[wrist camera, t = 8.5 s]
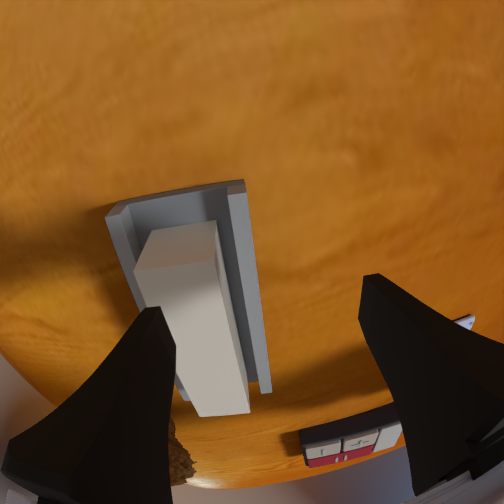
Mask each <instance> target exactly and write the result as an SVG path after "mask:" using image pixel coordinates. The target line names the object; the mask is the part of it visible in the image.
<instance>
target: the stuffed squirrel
mask: <svg viewBox="0 0 504 504" xmlns="http://www.w3.org/2000/svg"><path fill="white" fill-rule="evenodd" d="M174 437H175V425H174V422H173V420H172V418H171V417H170V418H169V429H168V452H169V472H170V483H171V486H175V485H181V484H184V483H187V481H186V478H191V477H192V476H193V475H194V473H195V472H196V470H194V468H192V464H194V463H197V462H194V461H192V459H190V454H189V453H188V451H187V450H185V449H184V448H183V446H182V445H181V443H179V441H178V440H177V438H174Z"/></svg>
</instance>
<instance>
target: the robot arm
mask: <svg viewBox="0 0 504 504" xmlns="http://www.w3.org/2000/svg"><path fill="white" fill-rule="evenodd" d="M358 320H359V322H360V325H361V328H362V331H363V334H364V337H365V340H366V342H367V344H368V346H369V348H370V350H371V352H372V354H373V356H374V358H375V360H376V362H377V365H378V367H379V369H380V371H381V373H382V375H383V377H384V379H385V381H386V383H387V385H388V387H389V390H390V392H391V394H392V397H393V400H394V403H395V406H396V409H397V413H398V416H399V419H400V423H401V427H402V430H403V434H404V438H405V443H406V447H407V452H408V457H409V463H410V470H411V477H412V487H413V491H414V494H415V496H416V497H415V498H413V499H411V500H408V501H406V502H403V503H401V504H504V344H502V343H500V342H497V341H494V340H492V339H489V338H487V337H484V336H482V335H480V334H477V333H475V332H473V331H471V330H470V329H471V327H472V325H473V322H474V320H475V316H474V315H471V316H468V317H465V318H463V319H460V320H457V321H454V322H453V321H452V320H450V319H448V318H446V317H445V316H443V315H441V314H440V313H438V312H436V311H435V310H433V309H432V308H430V307H428V306H427V305H425V304H424V303H422V302H421V301H419V300H418V299H416V298H415V297H413V296H412V295H411V294H409V293H408V292H406V291H405V290H403V289H402V288H400V287H399V286H397V285H396V284H395V283H393V282H392V281H390V280H389V279H387V278H386V277H384V276H382V275H381V274H379V273H377V274H371V275H366V276H363V285H362V293H361V301H360V308H359V315H358ZM175 373H176V344H175V341H174V339H173V336H172V334H171V332H170V329H169V327H168V324H167V322H166V319H165V317H164V314H163V312H162V309H161V307H160V306H155V307H146V308H144V309H143V310H142V311H141V313H140V314H139V315H138V317H137V318H136V319H135V321H134V322H133V323H132V325H131V326H130V327H129V329H128V330H127V331H126V333H125V334H124V335H123V337H122V338H121V339H120V341H119V342H118V343H117V345H116V346H115V347H114V349H113V350H112V351H111V352H110V354H109V355H108V356H107V357H106V358H105V360H104V361H103V362H102V363H101V365H100V366H99V367H98V368H97V369H96V371H95V372H94V373H93V374H92V375H91V376H90V377H89V378H88V379H87V380H86V381H85V382H84V383H83V385H82V386H81V387H80V388H79V389H78V390H77V391H76V392H75V393H73V394H72V395H71V396H70V397H69V398H68V399H67V400H66V401H64V402H63V403H62V404H61V405H60V406H59V407H58V408H57V409H55V410H54V411H53V412H52V413H50V414H49V415H48V416H46V417H45V418H44V419H42V420H41V421H39V422H38V423H37V424H35V425H34V426H32V427H31V428H29V429H28V430H26V431H24V432H22V433H21V434H19V435H17V436H16V437H14V438H13V439H10V440H9V443H8V446H7V450H6V453H5V457H4V460H3V464H2V468H1V472H2V474H3V475H4V476H6V477H7V478H8V479H10V480H12V481H13V482H15V483H16V484H18V485H20V486H22V487H23V488H25V489H27V490H28V491H31V492H32V493H34V494H36V495H38V496H39V497H38V502H36V501H34V500H32V499H30V498H28V497H26V496H23V495H21V494H19V493H17V492H15V491H13V490H11V489H9V490H8V494H7V498H6V504H173V500H172V493H171V483H170V472H169V452H168V429H169V418H170V410H171V402H172V395H173V388H174V381H175ZM446 482H447V483H446ZM444 483H445V484H444ZM442 484H443V485H442ZM440 485H441V486H440ZM438 486H439V487H438ZM436 487H437V488H436ZM434 488H435V489H434ZM432 489H433V490H432ZM430 490H431V491H430ZM428 491H429V492H428ZM421 494H422V495H421ZM419 495H420V496H419ZM417 496H418V497H417Z"/></svg>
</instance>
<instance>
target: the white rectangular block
mask: <svg viewBox="0 0 504 504" xmlns="http://www.w3.org/2000/svg"><path fill="white" fill-rule="evenodd" d="M133 272H134V275H135V278H136V280H137V283H138V286H139V288H140V291H141V293H142V296H143V298H144V301H145V303H146V306H147V307H155V306H160V307H161V309H162V312H163V314H164V317H165V319H166V322H167V324H168V327H169V329H170V332H171V334H172V336H173V339H174V341H175V344H176V372H177V374H178V376H179V378H180V380H181V382H182V384H183V386H184V388H185V390H186V392H187V394H188V396H189V398H190V400H191V402H192V404H193V405H194V407H195V409H196V411H197V413H198V414H199V416H200V417H209V416H223V415H234V414H244V413H250V403H249V392H248V381H247V371H246V365H245V361H244V356H243V351H242V347H241V342H240V337H239V333H238V328H237V323H236V318H235V313H234V309H233V304H232V299H231V294H230V289H229V284H228V279H227V273H226V268H225V263H224V258H223V253H222V247H221V242H220V237H219V231H218V226H217V220H213V221H207V222H200V223H194V224H187V225H181V226H175V227H169V228H163V229H157V230H152V231H151V233H150V235H149V238H148V240H147V242H146V244H145V246H144V248H143V250H142V253H141V255H140V257H139V259H138V261H137V264H136V266H135V268H134V271H133Z"/></svg>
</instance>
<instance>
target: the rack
mask: <svg viewBox="0 0 504 504" xmlns="http://www.w3.org/2000/svg"><path fill="white" fill-rule="evenodd" d="M213 220H217V226H218V231H219V237H220V242H221V247H222V253H223V258H224V263H225V268H226V273H227V279H228V284H229V289H230V294H231V299H232V304H233V309H234V313H235V318H236V323H237V328H238V333H239V337H240V342H241V347H242V351H243V356H244V361H245V365H246V371H247V381H248V382H255V381H259V385H260V390H261V394H265V393H272V385H271V377H270V369H269V361H268V353H267V346H266V338H265V330H264V322H263V314H262V307H261V299H260V291H259V283H258V275H257V268H256V260H255V252H254V244H253V237H252V229H251V221H250V214H249V206H248V198H247V191H246V187H245V182H244V179H242V180H235V181H228V182H222V183H215V184H209V185H203V186H197V187H191V188H185V189H179V190H174V191H168V192H163V193H158V194H152V195H147V196H142V197H137V198H133V199H128V200H123V201H119V202H117V203H116V205H115V206H114V207H113V208H112V209H111V210H110V212H109V213H108V214H107V215H106V216H105V221H106V224H107V227H108V230H109V233H110V236H111V239H112V242H113V244H114V247H115V250H116V253H117V256H118V258H119V261H120V264H121V266H122V269H123V272H124V274H125V277H126V279H127V282H128V284H129V287H130V289H131V292H132V294H133V297H134V299H135V301H136V304H137V306H138V308H139V311H140V313H141V311H142V310H143V309H144V308H146V307H147V306H146V303H145V301H144V298H143V296H142V293H141V291H140V288H139V286H138V283H137V280H136V278H135V275H134V272H133V271H134V268H135V266H136V264H137V261H138V259H139V257H140V255H141V253H142V250H143V248H144V246H145V244H146V242H147V240H148V238H149V235H150V233H151V231H152V230H157V229H163V228H169V227H175V226H181V225H187V224H194V223H200V222H207V221H213ZM174 383H175V385H176V387H177V389H178V390H179V392H180V394H181V396H182V398H183V399H184V401H191V400H190V398H189V396H188V394H187V392H186V390H185V388H184V386H183V384H182V382H181V380H180V378H179V376H178V374H177V372H176V373H175V381H174Z"/></svg>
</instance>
